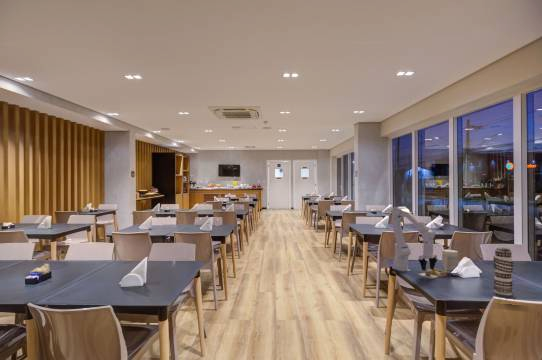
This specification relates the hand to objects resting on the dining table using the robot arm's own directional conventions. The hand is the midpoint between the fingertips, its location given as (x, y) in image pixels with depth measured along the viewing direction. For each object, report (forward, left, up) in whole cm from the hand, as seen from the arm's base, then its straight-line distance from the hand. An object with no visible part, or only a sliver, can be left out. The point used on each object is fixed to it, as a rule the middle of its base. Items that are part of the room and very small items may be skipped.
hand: (427, 269), depth 213 cm
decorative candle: (+39, +13, -5) cm, 41 cm away
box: (0, +9, -5) cm, 10 cm away
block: (0, +9, -4) cm, 9 cm away
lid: (0, 0, -5) cm, 5 cm away
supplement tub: (-1, +24, -5) cm, 24 cm away
